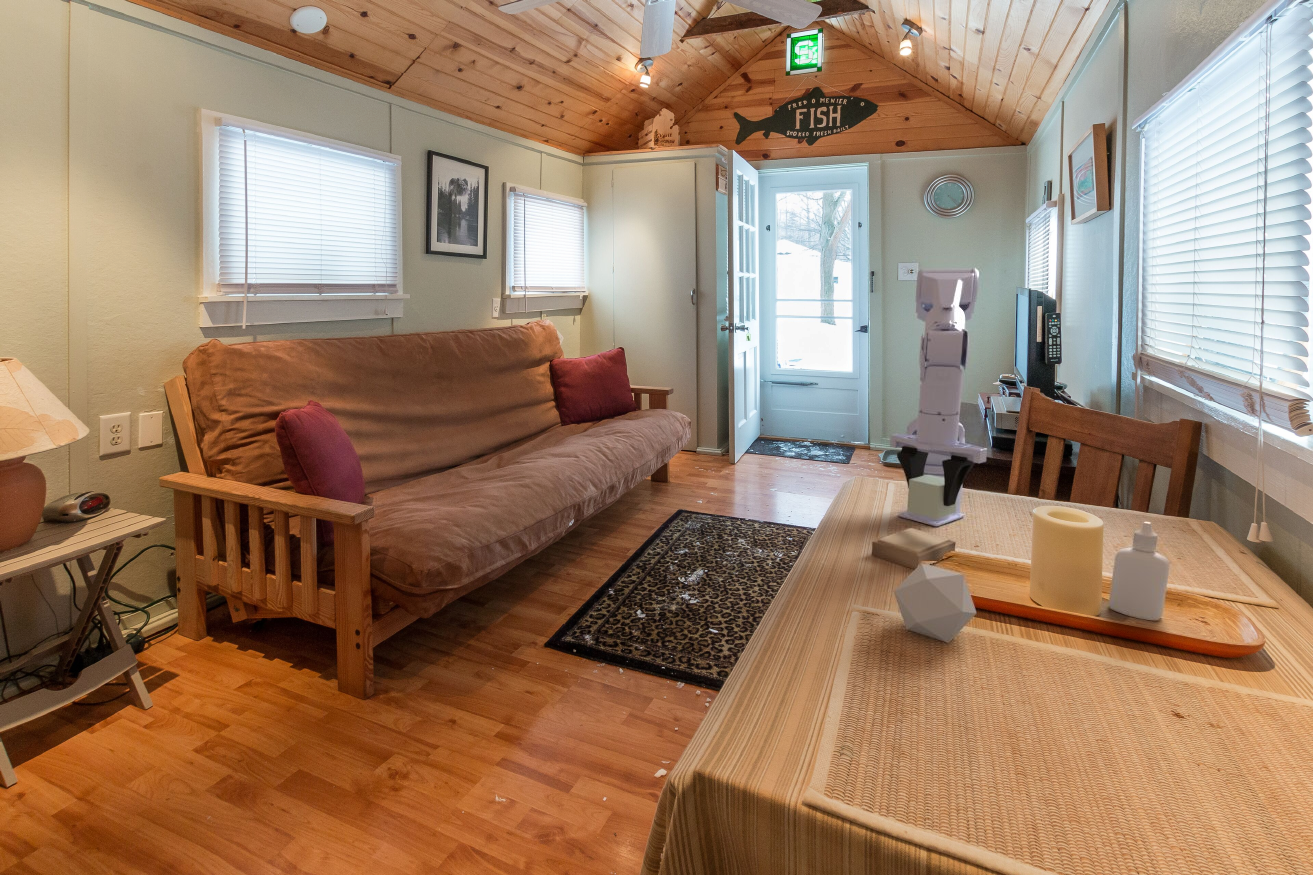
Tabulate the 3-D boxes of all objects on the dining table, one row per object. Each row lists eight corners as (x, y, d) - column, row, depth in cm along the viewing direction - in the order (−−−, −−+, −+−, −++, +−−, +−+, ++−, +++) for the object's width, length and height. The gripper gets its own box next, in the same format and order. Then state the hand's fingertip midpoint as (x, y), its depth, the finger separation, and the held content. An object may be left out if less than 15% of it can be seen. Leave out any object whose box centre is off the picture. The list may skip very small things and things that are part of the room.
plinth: (908, 541, 117) (909, 526, 117) (954, 555, 111) (955, 539, 110) (871, 554, 111) (872, 539, 111) (917, 570, 105) (919, 553, 104)
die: (984, 638, 86) (956, 560, 90) (986, 631, 78) (955, 547, 82) (915, 653, 88) (890, 576, 92) (910, 648, 81) (884, 565, 85)
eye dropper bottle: (1128, 601, 94) (1140, 514, 92) (1168, 620, 89) (1182, 528, 87) (1101, 605, 93) (1113, 517, 91) (1141, 624, 88) (1155, 531, 85)
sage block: (925, 505, 113) (927, 474, 112) (955, 512, 109) (957, 480, 108) (907, 511, 110) (909, 479, 109) (937, 518, 106) (939, 486, 105)
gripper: (880, 408, 109) (875, 494, 112) (972, 421, 98) (963, 516, 101) (906, 404, 113) (901, 487, 116) (997, 416, 102) (988, 507, 105)
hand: (931, 500), depth 109 cm, fingers closed on sage block, 5 cm apart
